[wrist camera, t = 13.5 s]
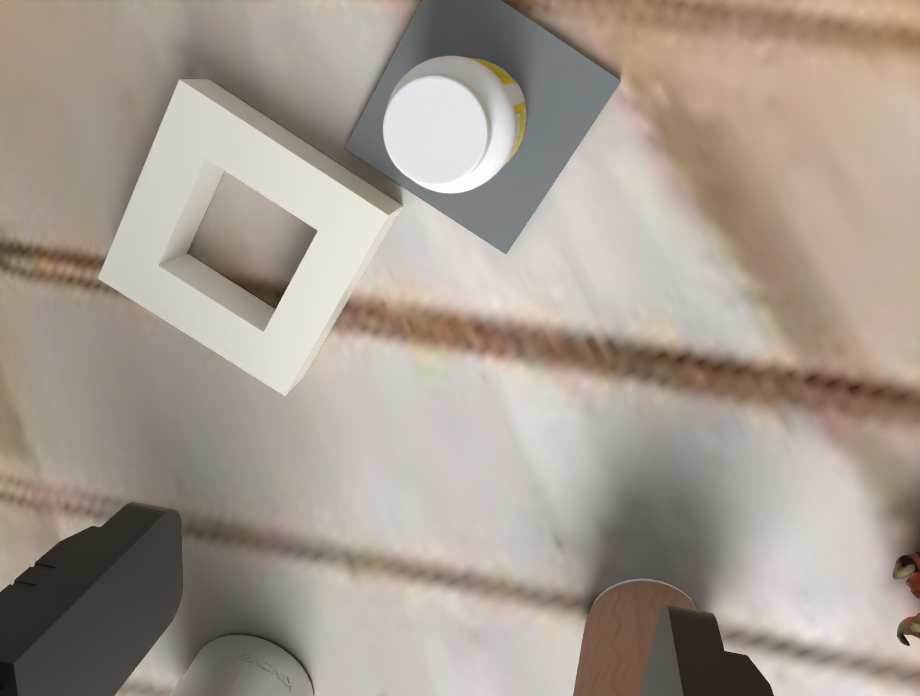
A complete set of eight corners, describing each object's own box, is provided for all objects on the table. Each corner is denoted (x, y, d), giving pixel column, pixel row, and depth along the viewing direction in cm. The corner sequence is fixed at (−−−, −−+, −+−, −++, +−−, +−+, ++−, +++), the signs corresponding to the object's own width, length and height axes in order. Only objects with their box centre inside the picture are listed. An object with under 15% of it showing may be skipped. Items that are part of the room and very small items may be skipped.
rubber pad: (507, 251, 38) (506, 254, 37) (347, 147, 37) (344, 148, 37) (620, 81, 34) (621, 81, 34) (445, -38, 34) (442, -40, 33)
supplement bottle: (402, 89, 35) (339, 91, 26) (502, 39, 34) (472, 23, 25) (447, 191, 37) (402, 226, 28) (545, 147, 35) (531, 169, 26)
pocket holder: (304, 375, 43) (285, 396, 40) (130, 265, 42) (97, 278, 39) (402, 205, 38) (388, 215, 35) (209, 79, 37) (179, 79, 35)
